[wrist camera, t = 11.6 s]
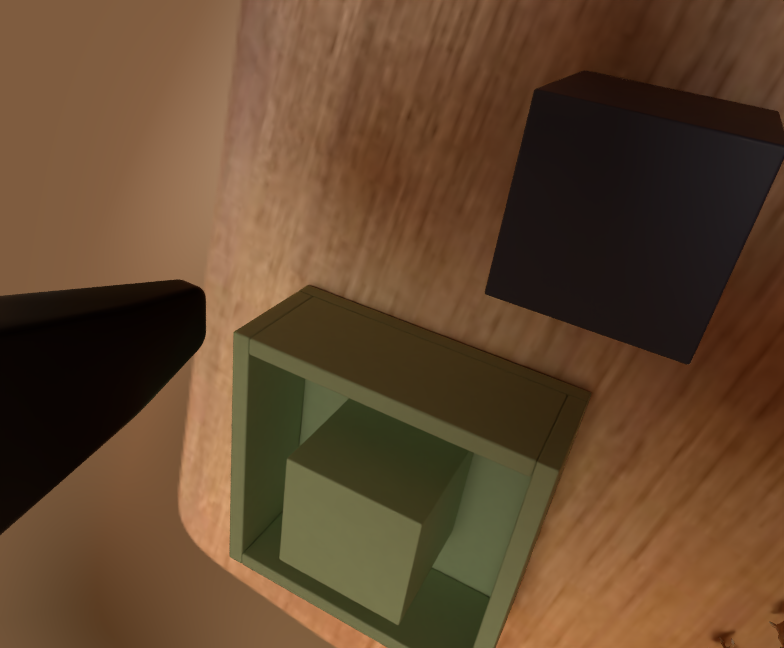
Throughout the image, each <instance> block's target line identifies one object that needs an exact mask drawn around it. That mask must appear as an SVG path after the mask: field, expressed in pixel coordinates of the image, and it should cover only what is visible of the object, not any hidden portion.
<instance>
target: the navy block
mask: <svg viewBox="0 0 784 648" xmlns="http://www.w3.org/2000/svg"><path fill="white" fill-rule="evenodd" d="M783 160H784V129H783V125H782V122H781V118H780V114H779V112H778V111H774V110H769V109H764V108H759V107H755V106H750V105H745V104H741V103H736V102H731V101H727V100H722V99H717V98H712V97H708V96H703V95H698V94H694V93H689V92H684V91H679V90H675V89H670V88H665V87H661V86H656V85H651V84H647V83H642V82H637V81H632V80H628V79H623V78H618V77H614V76H609V75H604V74H600V73H595V72H590V71H581V72H579V73H576V74H574V75H571V76H568V77H566V78H563V79H560V80H558V81H555V82H553V83H550V84H547V85H545V86H542V87H539V88H537V89H535V90H534V93H533V97H532V101H531V105H530V109H529V113H528V117H527V121H526V126H525V130H524V134H523V138H522V142H521V146H520V150H519V154H518V158H517V162H516V167H515V171H514V175H513V179H512V183H511V187H510V191H509V195H508V199H507V203H506V208H505V212H504V216H503V220H502V224H501V228H500V232H499V236H498V240H497V244H496V248H495V253H494V257H493V261H492V265H491V269H490V273H489V277H488V281H487V285H486V289H485V294H486V295H489V296H492V297H495V298H497V299H500V300H503V301H506V302H509V303H512V304H515V305H518V306H520V307H523V308H526V309H529V310H532V311H535V312H538V313H541V314H543V315H546V316H549V317H552V318H555V319H558V320H561V321H564V322H566V323H569V324H572V325H575V326H578V327H581V328H584V329H587V330H589V331H592V332H595V333H598V334H601V335H604V336H607V337H610V338H612V339H615V340H618V341H621V342H624V343H627V344H630V345H632V346H635V347H638V348H641V349H644V350H647V351H650V352H653V353H655V354H658V355H661V356H664V357H667V358H670V359H673V360H676V361H678V362H681V363H684V364H688V365H689V364H690V363H691V361H692V359H693V356H694V354H695V352H696V350H697V348H698V345H699V343H700V341H701V339H702V337H703V335H704V332H705V330H706V328H707V326H708V324H709V321H710V319H711V317H712V315H713V313H714V311H715V308H716V306H717V304H718V302H719V300H720V297H721V295H722V293H723V291H724V289H725V287H726V284H727V282H728V280H729V278H730V276H731V273H732V271H733V269H734V267H735V265H736V263H737V260H738V258H739V256H740V254H741V252H742V249H743V247H744V245H745V243H746V241H747V239H748V236H749V234H750V232H751V230H752V228H753V225H754V223H755V221H756V219H757V217H758V215H759V212H760V210H761V208H762V206H763V204H764V201H765V199H766V197H767V195H768V193H769V191H770V188H771V186H772V184H773V182H774V180H775V177H776V175H777V173H778V171H779V169H780V167H781V164H782V162H783Z"/></svg>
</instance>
